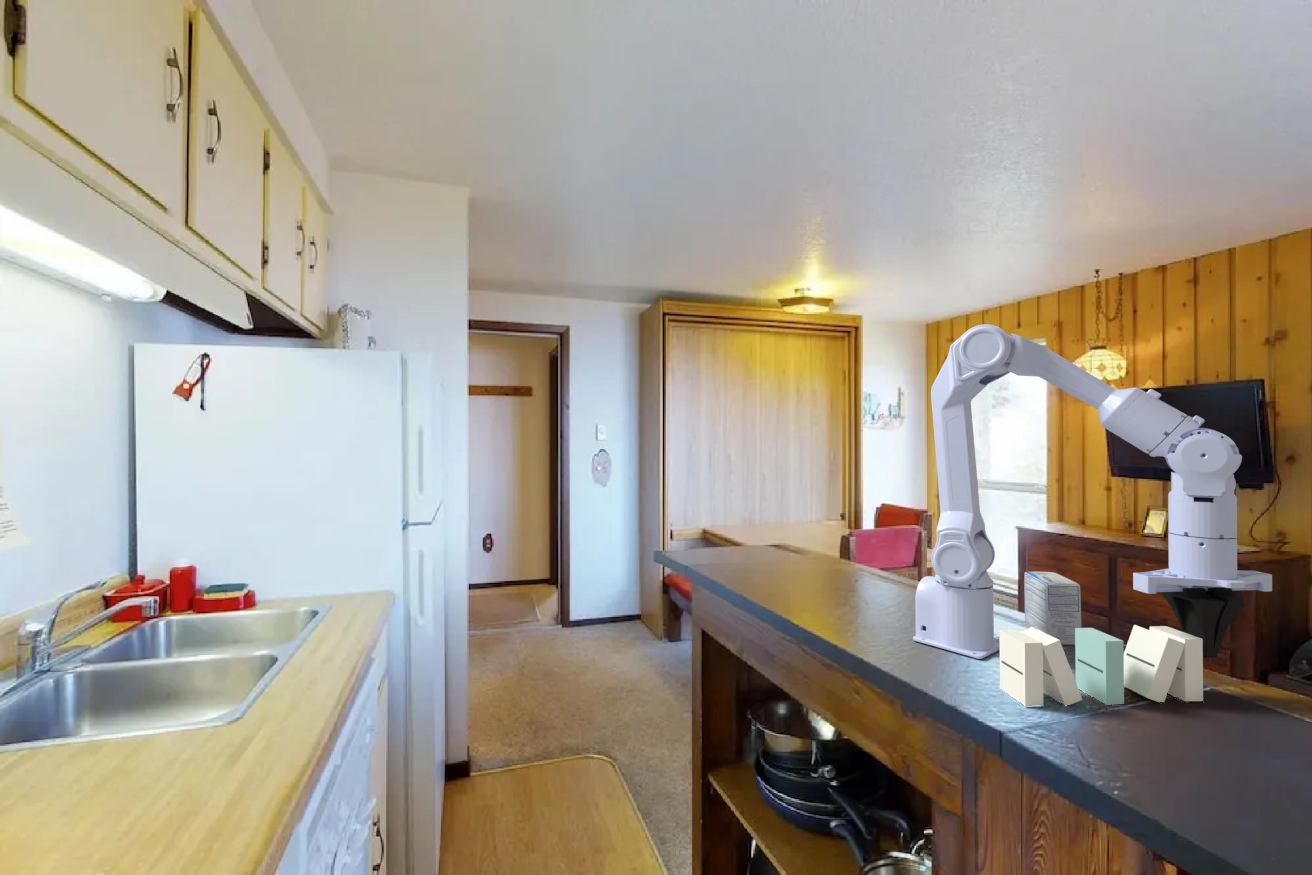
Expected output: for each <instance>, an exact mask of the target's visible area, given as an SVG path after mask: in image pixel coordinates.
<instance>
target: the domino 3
mask: <svg viewBox="0 0 1312 875" xmlns="http://www.w3.org/2000/svg"><path fill="white" fill-rule="evenodd" d="M1074 649H1075V655H1074V656H1075V658H1074V662H1075V664H1074V665H1075V681H1076V684H1077V687H1078V689H1080V690H1082V691H1083V692H1084V693H1083V692H1082V693H1083V694H1085V693H1087V694H1088V695H1090V696H1091V698H1092V697H1094V698H1096V699H1097V700H1099V701H1102V702H1103V703H1105V704H1107V705H1111V704H1112V706H1114V705H1113V704H1124V705H1125V686H1124V651H1125V649H1124V640H1122V639H1121V638H1118V637H1115V636H1113V635H1110V634H1107V633H1105V632H1103V631H1101V630H1099V629H1096V628H1093V627H1081V628H1075V645H1074ZM1080 690H1079V691H1080ZM1087 694H1086V695H1087ZM1088 695H1087V696H1088ZM1090 696H1089V697H1090ZM1094 698H1093V699H1094ZM1097 700H1096V701H1097ZM1099 701H1098V702H1099Z"/></svg>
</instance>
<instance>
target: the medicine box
mask: <svg viewBox="0 0 1312 875" xmlns="http://www.w3.org/2000/svg"><path fill="white" fill-rule="evenodd" d="M1023 575H1024V577H1023V578H1024V579H1023V584H1024V585H1023V586H1024V589H1023V590H1024V593H1023V594H1024V625H1025V627H1026V629H1028V628H1030V627H1033V628H1036V629H1038V630H1040V631H1042V632H1044V633H1046V634H1048V635H1050V636H1052V637H1054V638H1056V639H1059V640H1060V642H1061V645H1062V646H1075V628H1082V601H1081V596H1082V595H1081V585H1080V584H1079V583H1077V582H1075V581H1073V579H1069V578H1067V577H1065V576H1064V575H1061V574H1059V573H1058V572H1053V571H1050V572H1049V571H1025V572H1024V574H1023Z"/></svg>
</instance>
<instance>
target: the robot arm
mask: <svg viewBox="0 0 1312 875" xmlns="http://www.w3.org/2000/svg"><path fill="white" fill-rule="evenodd" d="M939 370H940V371H939V372H938V374H937V376H936V378H935V380H934V382H933V384H932V385H931V388H930V390H931V391H930V399H931V410H932V411H931V412H932V422H933V423H932V425H933V435H934V438H933V439H934V448H935V449H934V450H935V462H936V472H937V473H936V474H937V484H938V485H937V486H938V496H939V497H938V498H939V507H940V508H939V509H940V514H939V519H938V521H937V522H938V523H937V526H936V532H935V533H936V542H935V546H934V548H933V549H932V551H931V552H932V553H931V557H930V558H931V559H930V560H931V562H930V563H931V565H932V568H933V570H934V572H935V575H934V576H932V575H926V576H924V577H922V578H921V579H920V581H919V582H918V584H917V587H916V589H915V590H916V591H915V600H914V601H915V604H914V605H915V610H914V611H915V635H914V636H913V637H912V640H913V641H915V642H918V643H922V644H925V645H929V646H933V647H935V648H939V649H944V650H945V651H946V650H947V651H950V652H953V653H957V654H960V655H964V656H968V657H970V658H974V659H978V660H982V659H984V658H986V657H988V656H990V655H992V654H994V653H997V652H998V651H1000V640H997V639H995V638H994V637H995V632H994V630H995V626H994V625H995V622H994V621H995V620H994V618H995V617H994V614H995V613H994V612H995V611H994V580H993V579H992V578H991V576H990V575H989V573H988V571H987V570H989V569H990V568H991V566H992V565H993V563H994V561H995V558H996V554H995V552H996V551H995V548H994V545H993V543H992V542H991V540H990V539H989V537H988V534H987V533H986V532H987V531H986V526H985V523H986V522H985V521H984V518H983V516H982V513H981V508H980V507H981V506H980V494H979V485H978V484H979V482H978V472H977V470H978V469H977V460H976V458H977V457H976V448H975V447H976V446H975V436H974V426H973V425H974V424H973V413H972V412H973V411H972V401H973V399H975V398H976V396H978V395H979V394H980V392H982V391H983V390H984V389H985V388H986V387H987V386H988V385H989V384H991V383H993V382H996V381H997V380H999V379H1001V378H1003V377H1005V376H1006V375H1009V374H1011V373H1012V374H1014V375H1015V376H1018V377H1019V376H1020V377H1021V376H1022V377H1023V376H1024V377H1038V378H1040V379H1042V380H1044V381H1045V382H1047V383H1049V384H1051V385H1053V386H1054V387H1056V388H1058V389H1060V390H1062V391H1063V392H1065V393H1068V394H1069V395H1071V396H1073V397H1074V398H1076V399H1078V400H1079V401H1081V402H1083V403H1085V404H1087V405H1089V406H1090V407H1092V408H1094V409H1096V410H1097V412H1098V420H1099V424H1100V426H1101V427H1102V428H1104V429H1105V430H1108V432H1111V433H1112V434H1114V435H1116V436H1117V437H1119V438H1120V439H1122V440H1124V441H1125V442H1127V443H1129V444H1130V445H1132V446H1133V447H1135V448H1137V449H1139V450H1140V451H1142V452H1143V453H1145V454H1148V455H1149V456H1150V457H1153V458H1155V457H1164V458H1165V461H1166V464H1167V466H1168V467H1169V468H1170V469H1171V470H1172V471H1171V472H1170V474H1171V475H1170V484H1171V485H1170V486H1171V488H1170V489H1171V490H1170V491H1168V492H1169V493H1168V494H1167V500H1168V501H1167V503H1168V504H1167V506H1168V508H1167V510H1168V512H1167V514H1168V517H1167V518H1168V520H1167V521H1168V524H1167V526H1168V528H1167V529H1168V531H1167V533H1168V534H1167V535H1168V539H1167V540H1168V543H1167V544H1168V546H1167V547H1168V568H1162V569H1156V570H1150V571H1144V572H1143V571H1142V572H1133V573H1132V577H1133V578H1132V585H1133V586H1132V588H1133V589H1132V590H1134V591H1138V592H1140V593H1141V592H1142V593H1144V594H1148V595H1151V594H1153V595H1155V594H1157V593H1161V595H1162V597H1163V598H1164V599H1165V601H1166V602H1167V604H1168V605H1169V606H1170V608H1171V609H1172V611H1173V613H1174V615H1175V616H1176V619H1177V621H1178V624H1179V625H1180V628H1181V632H1184V633H1187V634H1190V635H1193V636H1196V637H1198V638H1201V639H1203V658H1204V659H1215V658H1216V659H1217V656H1218V654H1219V651H1220V648H1221V645H1222V643H1223V640H1224V638H1225V634H1226V633H1227V630H1228V628H1229V627H1230V625H1231V624H1232V622H1233V620H1234V619H1235V618H1236V616H1237V615H1238V614H1239V613H1240V611H1241V610H1242V609H1244V607H1246V597H1245V596H1243V595H1240V594H1239V595H1238V594H1234V593H1233V591H1259V592H1265V593H1266V592H1273V575H1272V573H1271V574H1270V573H1266V572H1261V571H1256V570H1238V498H1237V495H1235V489H1236V488H1237V487H1236V486H1237V485H1236V484H1237V483H1236V482H1237V481H1236V479H1235V472H1236V471H1238V469H1239V467H1240V466H1241V464H1242V459H1243V456H1242V454H1240V450H1239V448H1238V447H1237V445H1236V443H1235V442H1234V440H1233V439H1231V438H1230V437H1229V436H1227V435H1226V434H1224V433H1221V432H1220V431H1217V430H1215V429H1211V428H1208V427H1207V428H1206V427H1201V426H1202V425H1203V424H1204V423H1205V422H1206V421H1205V419H1204V418H1203V417H1201V416H1199V415H1194V416H1193V417H1192V416H1190V415H1188V414H1186V413H1185V412H1182V411H1180V410H1179V409H1177V408H1176V407H1173V406H1171V405H1170V404H1168V403H1166V402H1165V401H1162V400H1161V399H1160V398H1161V397H1162V394H1161V393H1160V392H1158V391H1156V390H1155V389H1153V388H1151V389H1148V391H1145V390H1143V389H1141V388H1139V387H1129V388H1122V389H1116V388H1114V387H1112V386H1111V385H1110V384H1108V383H1106V382H1104V381H1102V379H1099V378H1098V377H1096V376H1095V375H1093V374H1091V373H1090V372H1088V371H1086V370H1084V369H1083V368H1081V367H1079V365H1076V364H1074V363H1073V362H1072V361H1069V360H1068V359H1066V358H1064V357H1063V356H1062V355H1059V354H1057V353H1056V352H1054V351H1053V350H1051V349H1050V348H1048V347H1047V346H1044V345H1043V344H1040V343H1037V342H1035V341H1033V340H1031V339H1028V338H1026V337H1023V336H1021V335H1018V334H1015V333H1011V335H1010V334H1008V333H1007V332H1006V330H1004V329H1003V328H1001V327H999V326H997V325H994V324H989V323H988V324H987V323H984V324H978V325H975V326H973V327H971V328H969V329H968V330H966V331H965V332H964V333H963V334H961V336H960V337H959V338H957V339H956V340H955V341H954V342H953V343H952V344H951V345H950V346H949V350H948V354H947V357H946V359H945V361H944V363H943V365H942V367H941V369H939Z"/></svg>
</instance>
